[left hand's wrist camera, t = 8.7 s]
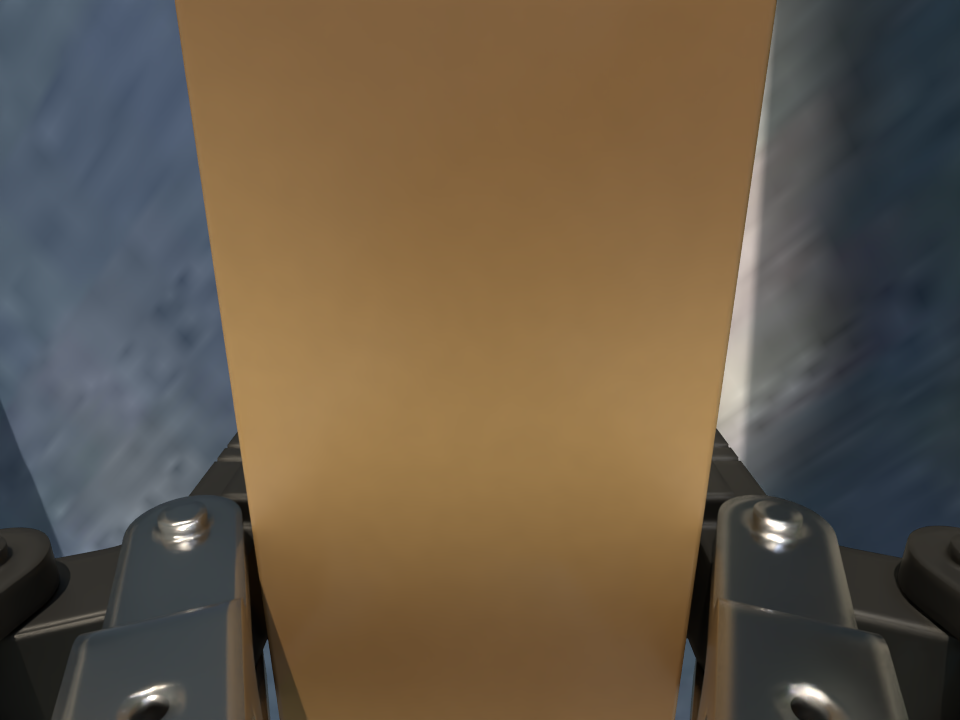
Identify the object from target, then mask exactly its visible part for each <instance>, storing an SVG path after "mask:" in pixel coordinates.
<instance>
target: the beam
mask: <svg viewBox="0 0 960 720" xmlns="http://www.w3.org/2000/svg"><path fill="white" fill-rule="evenodd" d="M776 3H777V0H175V5H176V12H177V19H178V26H179V33H180V40H181V46H182V53H183V60H184V67H185V74H186V81H187V87H188V94H189V101H190V108H191V115H192V122H193V129H194V135H195V142H196V149H197V156H198V163H199V170H200V176H201V183H202V190H203V197H204V204H205V211H206V217H207V224H208V231H209V238H210V245H211V252H212V258H213V265H214V272H215V279H216V286H217V293H218V300H219V306H220V313H221V320H222V327H223V334H224V341H225V347H226V354H227V361H228V368H229V375H230V382H231V388H232V395H233V402H234V409H235V416H236V423H237V430H238V436H239V443H240V450H241V457H242V464H243V471H244V477H245V484H246V491H247V498H248V505H249V512H250V518H251V525H252V532H253V539H254V546H255V553H256V559H257V566H258V573H259V580H260V587H261V594H262V601H263V607H264V614H265V621H266V628H267V635H268V642H269V648H270V655H271V662H272V669H273V676H274V683H275V689H276V696H277V703H278V710H279V717H280V720H675V714H676V707H677V700H678V693H679V685H680V678H681V671H682V664H683V657H684V650H685V643H686V636H687V629H688V622H689V615H690V608H691V601H692V594H693V587H694V580H695V573H696V566H697V559H698V552H699V545H700V538H701V531H702V524H703V517H704V510H705V503H706V496H707V489H708V481H709V474H710V467H711V460H712V453H713V446H714V439H715V432H716V425H717V418H718V411H719V404H720V397H721V390H722V383H723V376H724V369H725V362H726V355H727V348H728V341H729V334H730V327H731V320H732V313H733V306H734V299H735V292H736V285H737V278H738V270H739V263H740V256H741V249H742V242H743V235H744V228H745V221H746V214H747V207H748V200H749V193H750V186H751V179H752V172H753V165H754V158H755V151H756V144H757V137H758V130H759V123H760V116H761V109H762V102H763V95H764V88H765V81H766V74H767V67H768V59H769V52H770V45H771V38H772V31H773V24H774V17H775V10H776Z"/></svg>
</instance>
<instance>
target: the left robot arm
mask: <svg viewBox="0 0 960 720" xmlns="http://www.w3.org/2000/svg"><path fill="white" fill-rule="evenodd" d="M686 638H688V639H689V642H690V645H691V647H692V650H693V652H694V655H695V657H696V661H695V667H694V674H693V685H692V698H691V710H690V720H960V528H957V527H949V526H928V527H923V528H919V529H917V530H915V531H913V532H912V533H911V534H910V535H909V537H908V540H907V543H906V547H905V550H904V554H903V558H899V557H894V556H888V555H883V554H878V553H873V552H868V551H862V550H857V549H852V548H847V547H843V546H839V545H838V541H837V537H836V534H835V532H834V530H833V528H832V527H831V526H830V524H829V523H828V522H827V521H826V520H825V519H823V518H822V517H821V516H820V515H818V514H817V513H815V512H813V511H812V510H810V509H808V508H806V507H804V506H802V505H800V504H797V503H794V502H792V501H788V500H785V499H782V498H777V497H772V496H767V495H766V494H765V493H764V491H763V490H762V489H761V487H760V486H759V485H758V483H757V482H756V481H755V479H754V478H753V477H752V475H751V474H750V473H749V471H748V470H747V469H746V467H745V466H744V465H743V463H742V462H741V461H738V457H737V455H736V454H735V453H734V451H733V450H732V449H731V448H729V447H728V443H727V442H726V441H725V439H724V438H723V437H722V435H721V434H720V432H719V431H718V430H717V429H716V432H715V439H714V446H713V453H712V460H711V467H710V474H709V481H708V489H707V496H706V503H705V510H704V517H703V524H702V531H701V538H700V545H699V552H698V559H697V566H696V573H695V580H694V587H693V594H692V601H691V608H690V615H689V622H688V629H687V636H686ZM267 639H268V635H267V628H266V621H265V614H264V607H263V601H262V594H261V587H260V580H259V573H258V566H257V559H256V553H255V546H254V539H253V532H252V525H251V518H250V512H249V505H248V498H247V491H246V484H245V477H244V471H243V464H242V457H241V450H240V443H239V436H238V432H237V433H236V435H235V436H234V437H233V439H232V440H231V441H230V442H229V444H228V448H225V449H224V450H223V452H222V453H221V454H220V456H219V457H218V461H217V462H214V464H213V465H212V466H211V467H210V469H209V470H208V471H207V473H206V474H205V475H204V477H203V478H202V479H201V481H200V482H199V483H198V485H197V486H196V487H195V489H194V490H193V491H192V492H191V494H190V495H189V496H188V497H183V498H178V499H175V500H172V501H168V502H166V503H163V504H160V505H158V506H156V507H154V508H152V509H150V510H148V511H147V512H145V513H143V514H142V515H141V516H139V517H138V518H137V519H135V520H134V521H133V522H132V523H131V524H130V526H129V527H128V528H127V530H126V532H125V534H124V537H123V542H122V545H119V546H116V547H112V548H107V549H103V550H98V551H92V552H87V553H82V554H77V555H71V556H66V557H61V558H56V559H55V558H54V554H53V551H52V547H51V544H50V541H49V538H48V536H47V535H46V534H45V533H43V532H41V531H39V530H36V529H32V528H6V529H0V720H270V710H269V697H268V684H267V673H266V667H265V660H264V654H263V648H264V646H265V643H266V641H267Z"/></svg>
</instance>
